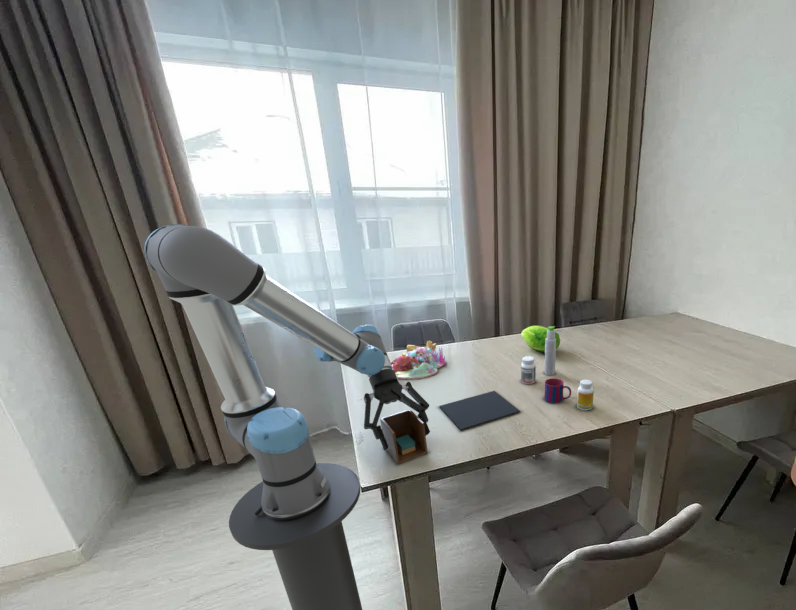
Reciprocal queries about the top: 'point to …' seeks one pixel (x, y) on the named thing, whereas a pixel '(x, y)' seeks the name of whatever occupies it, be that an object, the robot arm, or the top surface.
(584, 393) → the supplement bottle
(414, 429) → the open wooden box
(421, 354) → the candy landscape model
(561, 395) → the mug
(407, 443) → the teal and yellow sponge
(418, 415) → the robot arm
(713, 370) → the top surface
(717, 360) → the top surface
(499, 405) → the mat
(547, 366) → the bottle
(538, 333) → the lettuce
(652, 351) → the top surface
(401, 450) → the block
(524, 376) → the pill bottle
